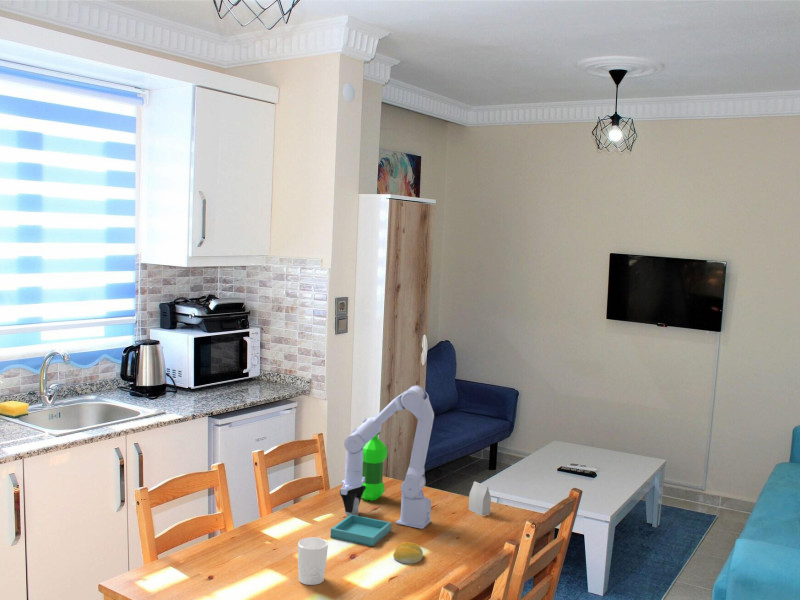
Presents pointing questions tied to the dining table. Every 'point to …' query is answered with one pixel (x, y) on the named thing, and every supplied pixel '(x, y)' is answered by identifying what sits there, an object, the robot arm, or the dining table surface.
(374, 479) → the plastic bottle
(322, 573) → the white cup
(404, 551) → the bread roll
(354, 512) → the white cylinder
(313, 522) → the dining table surface
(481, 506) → the white gable top carton
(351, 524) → the tray
